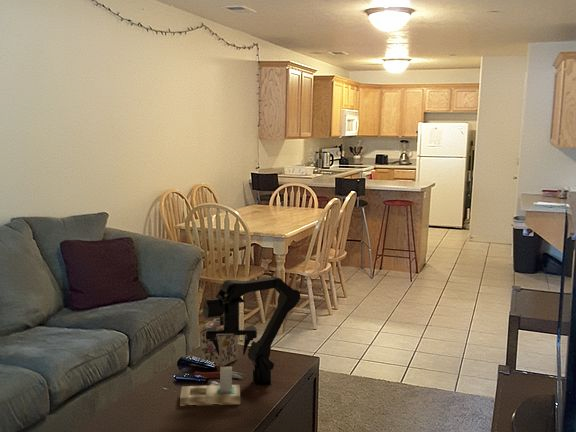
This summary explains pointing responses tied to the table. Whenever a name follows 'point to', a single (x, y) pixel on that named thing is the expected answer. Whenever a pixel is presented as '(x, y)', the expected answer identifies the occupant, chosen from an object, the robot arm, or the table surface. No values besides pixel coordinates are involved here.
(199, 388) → the beige slotted block
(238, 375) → the pliers
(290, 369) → the table surface
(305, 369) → the table surface
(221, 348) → the decorative jar
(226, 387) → the steel block
